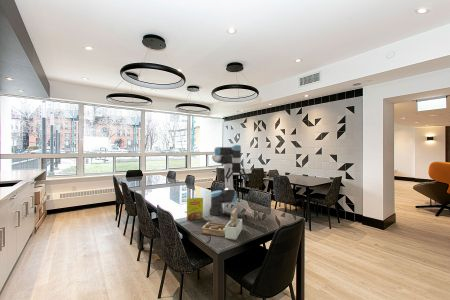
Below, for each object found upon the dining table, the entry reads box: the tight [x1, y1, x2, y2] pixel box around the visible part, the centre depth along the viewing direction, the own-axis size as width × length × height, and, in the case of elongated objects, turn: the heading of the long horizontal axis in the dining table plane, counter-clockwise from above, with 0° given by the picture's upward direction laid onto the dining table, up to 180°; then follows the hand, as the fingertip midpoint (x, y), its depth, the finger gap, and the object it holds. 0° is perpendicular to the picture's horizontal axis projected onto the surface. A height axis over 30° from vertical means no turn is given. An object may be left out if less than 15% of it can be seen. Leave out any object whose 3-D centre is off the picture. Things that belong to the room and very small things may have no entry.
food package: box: [186, 197, 204, 220], centre depth 206 cm, size 15×1×20 cm, turn 106°
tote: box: [224, 218, 243, 240], centre depth 171 cm, size 21×9×9 cm, turn 162°
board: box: [230, 207, 238, 227], centre depth 171 cm, size 2×12×18 cm, turn 162°
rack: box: [200, 221, 228, 237], centre depth 177 cm, size 16×19×4 cm
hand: (236, 186), depth 188 cm, fingers open, 13 cm apart
